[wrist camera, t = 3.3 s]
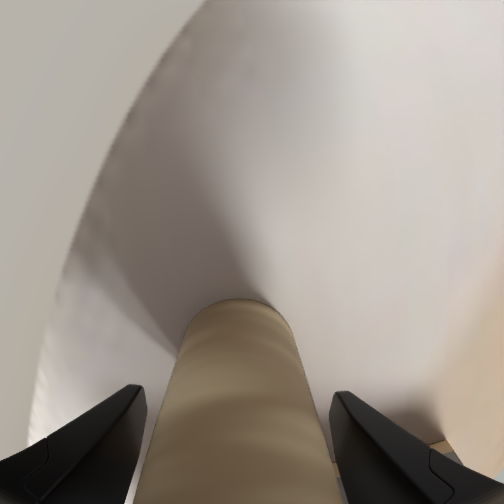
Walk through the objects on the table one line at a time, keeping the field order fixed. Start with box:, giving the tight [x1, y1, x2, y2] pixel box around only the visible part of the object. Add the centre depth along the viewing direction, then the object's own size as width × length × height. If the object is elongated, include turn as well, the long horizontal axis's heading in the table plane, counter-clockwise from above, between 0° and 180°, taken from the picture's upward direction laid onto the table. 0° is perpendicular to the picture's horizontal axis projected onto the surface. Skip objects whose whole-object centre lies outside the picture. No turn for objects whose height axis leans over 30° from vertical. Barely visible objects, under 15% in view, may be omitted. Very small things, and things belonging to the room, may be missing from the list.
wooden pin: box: [133, 299, 344, 504], centre depth 6 cm, size 4×4×10 cm
